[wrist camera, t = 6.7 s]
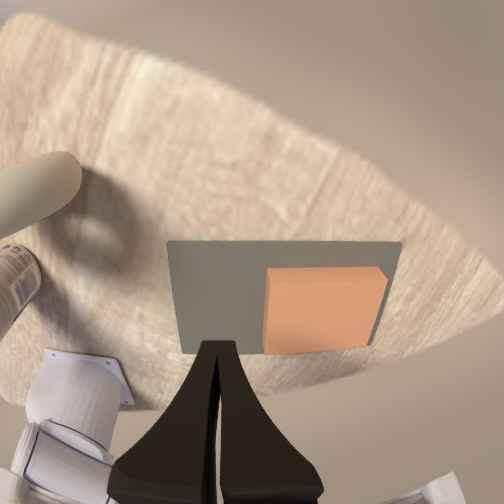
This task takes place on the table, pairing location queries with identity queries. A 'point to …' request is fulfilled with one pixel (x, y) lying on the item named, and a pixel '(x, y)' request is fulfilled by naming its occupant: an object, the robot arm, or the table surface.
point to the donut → (37, 189)
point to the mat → (253, 283)
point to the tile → (320, 308)
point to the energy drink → (16, 283)
